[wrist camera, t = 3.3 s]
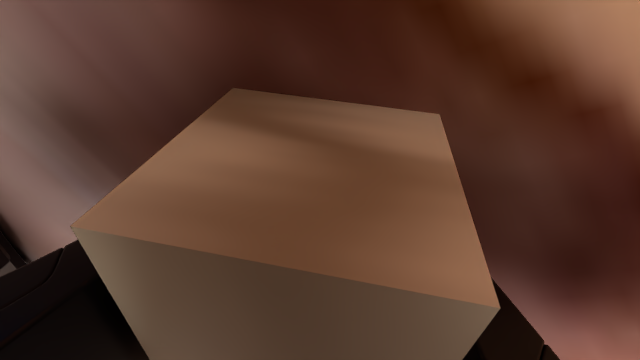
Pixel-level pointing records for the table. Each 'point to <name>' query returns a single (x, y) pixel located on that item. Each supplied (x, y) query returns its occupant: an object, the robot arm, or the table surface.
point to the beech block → (295, 237)
